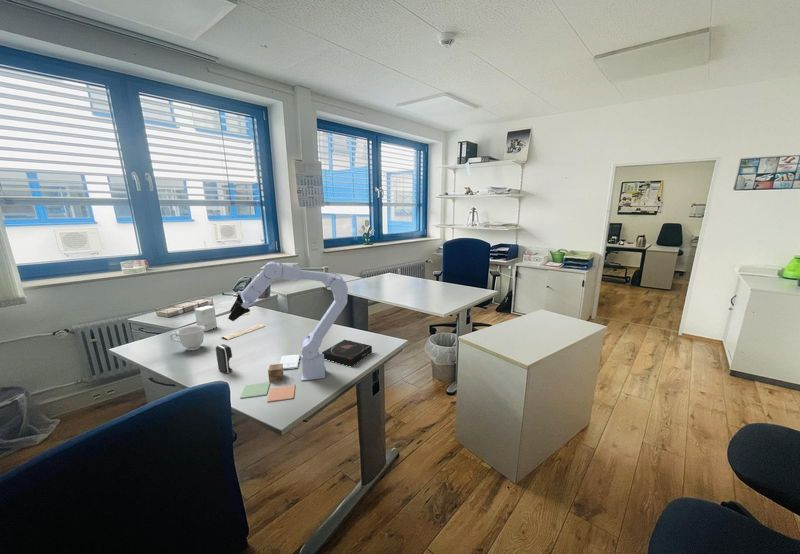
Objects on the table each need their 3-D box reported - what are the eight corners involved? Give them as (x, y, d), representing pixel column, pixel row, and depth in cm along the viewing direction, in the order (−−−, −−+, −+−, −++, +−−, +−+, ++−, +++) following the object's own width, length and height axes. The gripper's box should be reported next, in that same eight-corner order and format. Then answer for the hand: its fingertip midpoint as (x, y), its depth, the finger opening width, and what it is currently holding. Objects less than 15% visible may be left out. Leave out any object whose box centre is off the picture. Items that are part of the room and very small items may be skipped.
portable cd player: (343, 346, 163) (343, 339, 162) (371, 353, 155) (371, 345, 154) (321, 359, 149) (321, 351, 148) (351, 368, 141) (350, 359, 140)
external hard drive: (300, 357, 152) (297, 369, 140) (282, 359, 150) (277, 371, 139) (300, 354, 152) (297, 366, 140) (281, 355, 150) (277, 368, 138)
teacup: (174, 347, 163) (171, 328, 161) (208, 341, 170) (205, 323, 168) (170, 356, 153) (167, 336, 151) (206, 350, 159) (204, 331, 157)
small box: (210, 325, 194) (208, 305, 191) (217, 327, 191) (214, 306, 188) (197, 330, 187) (194, 308, 184) (203, 332, 184) (200, 310, 181)
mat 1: (270, 382, 129) (270, 381, 128) (266, 395, 120) (266, 394, 120) (245, 385, 126) (245, 384, 126) (240, 398, 118) (240, 397, 118)
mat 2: (295, 385, 126) (295, 385, 126) (293, 398, 118) (293, 397, 117) (270, 389, 124) (270, 388, 124) (267, 402, 115) (267, 401, 115)
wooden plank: (227, 341, 172) (227, 338, 171) (220, 339, 175) (219, 335, 175) (265, 327, 192) (265, 324, 191) (257, 325, 195) (257, 322, 195)
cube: (283, 374, 135) (282, 363, 134) (282, 380, 131) (281, 369, 130) (271, 375, 134) (269, 364, 133) (269, 382, 129) (268, 370, 128)
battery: (235, 370, 139) (232, 345, 136) (226, 374, 136) (223, 349, 133) (226, 366, 143) (223, 342, 140) (218, 369, 140) (214, 345, 137)
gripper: (247, 276, 126) (224, 303, 125) (245, 287, 113) (219, 317, 112) (262, 287, 129) (240, 313, 128) (262, 298, 116) (237, 327, 115)
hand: (231, 315), depth 120 cm, fingers open, 7 cm apart
